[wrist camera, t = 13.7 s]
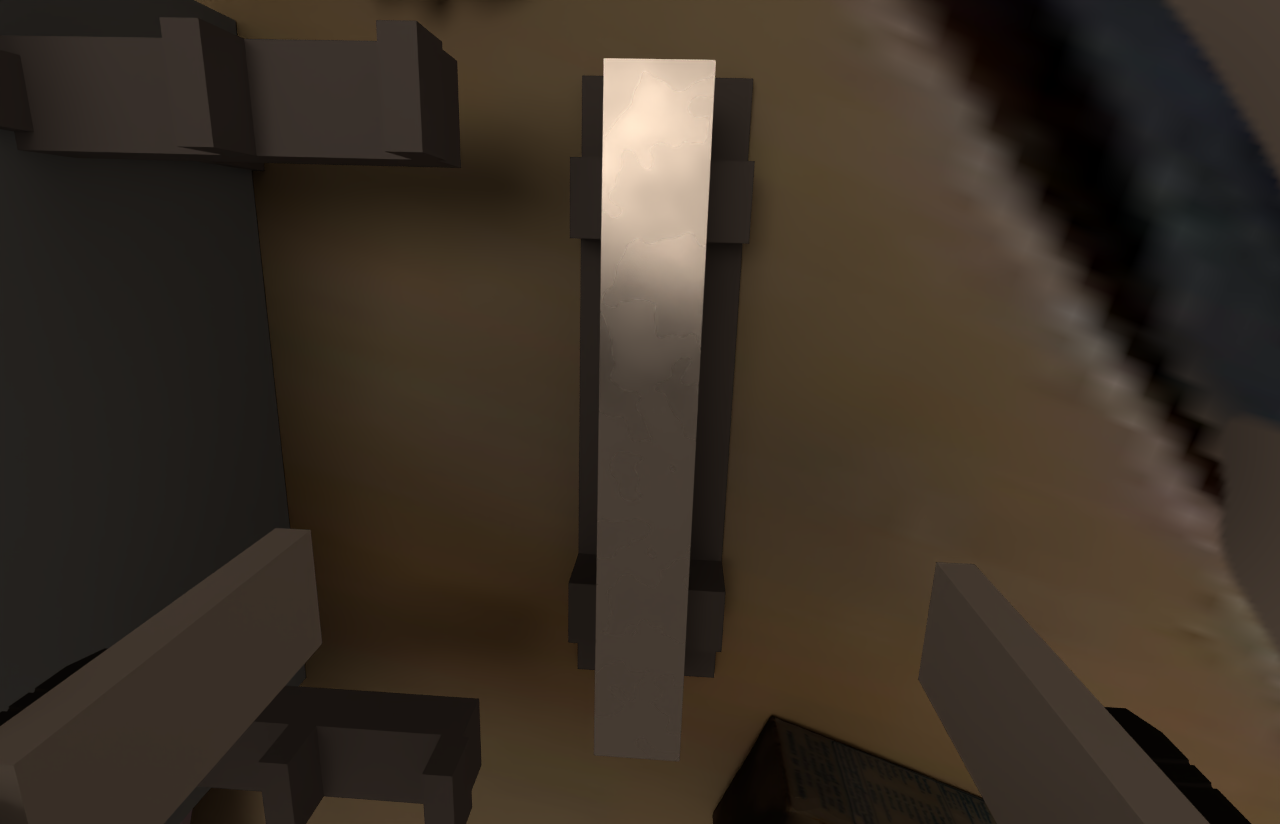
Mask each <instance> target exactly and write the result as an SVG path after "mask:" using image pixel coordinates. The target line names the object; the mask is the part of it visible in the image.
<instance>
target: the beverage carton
mask: <svg viewBox="0 0 1280 824" xmlns="http://www.w3.org/2000/svg"><path fill="white" fill-rule="evenodd" d="M713 824H997V823H996V821H995V819H994V818H993V816H992V814H991V812H990V810H989V808H988V807H987V805H986V803H985V801H984V799H983V798H980V797H977V796H975V795H972V794H970V793H967V792H964V791H962V790H959V789H957V788H954V787H952V786H949V785H947V784H944V783H941V782H939V781H936V780H934V779H932V778H929V777H927V776H924V775H922V774H919V773H916V772H914V771H911V770H909V769H906V768H903V767H900V766H898V765H895V764H892V763H890V762H888V761H885V760H883V759H880V758H877V757H875V756H872V755H869V754H867V753H864V752H862V751H859V750H857V749H854V748H852V747H849V746H846V745H844V744H841V743H839V742H836V741H833V740H831V739H828V738H825V737H823V736H820V735H818V734H815V733H813V732H810V731H808V730H805V729H803V728H801V727H798V726H796V725H792V724H790V723H787V722H784V721H782V720H780V719H778V718H776V717H774V716H773V717H771V718H770V719H769V721H768V722H767V724H766V726H765V727H764V729H763V731H762V732H761V734H760V736H759V738H758V740H757V742H756V744H755V746H754V747H753V749H752V751H751V752H750V754H749V755H748V757H747V759H746V761H745V762H744V764H743V766H742V767H741V769H740V770H739V771H738V773H737V774H736V776H735V778H734V780H733V782H732V784H731V786H730V787H729V788H728V790H727V791H726V793H725V795H724V797H723V799H722V801H721V802H720V804H719V805H718V807H717V808H716V810H715V811H714V813H713Z"/></svg>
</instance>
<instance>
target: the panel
mask: <svg viewBox="0 0 1280 824" xmlns="http://www.w3.org/2000/svg"><path fill="white" fill-rule="evenodd" d="M376 27H377V41H342V40H276V39H243V38H241V37H239V36H237V31H236V22H235V20H233V19H231V18H229V17H227V16H225V15H223V14H221V13H219V12H217V11H215V10H213V9H211V8H209V7H207V6H205V5H203V4H201V3H198V2H196V1H194V0H0V712H2V711H7V710H8V709H9V706H10V705H12V704H13V703H14V702H16V701H17V700H19V699H20V698H22V697H23V696H24V695H26V694H27V693H33V692H34V691H35V688H36V687H37V686H39V685H40V684H42V683H43V682H44V681H46V680H47V679H49V678H50V677H52V676H53V675H54V674H56V673H57V672H59V671H60V670H62V669H63V668H65V667H66V666H68V665H70V664H72V663H74V662H76V661H79V660H81V659H83V658H85V657H87V656H89V655H91V654H94V653H96V652H98V651H100V650H102V649H104V648H110V647H111V646H113V645H114V644H115V643H117V642H118V641H120V640H121V639H122V638H124V637H125V636H126V635H128V634H129V633H131V632H132V631H133V630H135V629H136V628H138V627H139V626H140V625H142V624H143V623H145V622H146V621H147V620H149V619H150V618H151V617H153V616H154V615H156V614H157V613H158V612H160V611H161V610H163V609H164V608H165V607H167V606H168V605H170V604H171V603H172V602H174V601H175V600H177V599H178V598H179V597H181V596H182V595H183V594H185V593H186V592H188V591H189V590H190V589H192V588H193V587H195V586H196V585H197V584H199V583H200V582H202V581H203V580H204V579H206V578H207V577H208V576H210V575H211V574H213V573H214V572H215V571H217V570H218V569H220V568H221V567H222V566H224V565H225V564H227V563H228V562H229V561H231V560H232V559H234V558H235V557H236V556H238V555H239V554H240V553H242V552H243V551H245V550H246V549H247V548H249V547H250V546H252V545H253V544H254V543H256V542H257V541H259V540H260V539H261V538H263V537H264V536H265V535H267V534H268V533H270V532H271V531H272V530H274V529H275V528H284V529H290V524H289V515H288V506H287V497H286V487H285V478H284V469H283V459H282V450H281V441H280V431H279V422H278V413H277V403H276V394H275V385H274V375H273V366H272V357H271V348H270V338H269V329H268V320H267V310H266V301H265V292H264V282H263V273H262V264H261V254H260V245H259V236H258V226H257V217H256V208H255V199H254V189H253V180H252V171H251V170H258V171H264V163H290V164H329V165H369V166H408V167H448V168H461V160H460V131H459V102H458V73H457V61H456V60H455V59H454V58H452V57H451V56H450V55H449V54H447V53H446V52H445V51H444V50H442V42H441V41H440V40H439V39H438V38H437V37H435V36H434V35H433V34H432V33H430V32H429V31H428V30H427V29H426V28H424V27H423V26H422V25H421V24H420V23H418V22H417V21H395V20H376ZM305 678H306V674H305V664H304V665H303V666H302V667H301V668H300V669H299V670H298V672H297V673H296V674H295V675H294V676H293V677H292V678H291V680H290V681H289V682H288V683H287V684H286V685H285V686H284V688H283V689H282V690H281V691H280V692H279V693H278V694H277V695H276V697H275V698H274V699H273V700H272V701H271V702H270V703H269V705H268V706H267V707H266V708H265V709H264V710H263V711H262V713H261V714H260V715H259V716H258V717H257V718H256V719H255V721H254V722H253V723H252V724H251V725H250V726H249V727H248V728H247V730H246V731H245V732H244V733H243V734H242V735H241V736H240V738H239V739H238V740H237V741H236V742H235V743H234V744H233V746H232V747H231V748H230V749H229V750H228V751H227V752H226V753H225V755H224V756H223V757H222V758H221V759H220V760H219V761H218V763H217V764H216V765H215V766H214V767H213V768H212V769H211V771H210V772H209V773H208V774H207V775H206V776H205V777H204V778H203V780H202V781H201V782H200V783H199V784H198V785H197V786H196V788H195V789H194V790H193V791H192V792H191V793H190V794H189V796H188V797H187V798H186V799H185V800H184V801H183V802H182V804H181V805H180V806H179V807H178V808H177V809H176V810H175V811H174V813H173V814H172V815H171V816H170V817H169V818H168V819H167V821H166V822H165V823H164V824H180V823H181V822H182V821H183V819H184V818H185V817H186V816H187V815H188V814H189V812H190V811H191V810H192V809H193V808H194V807H195V806H196V804H197V803H198V802H199V801H200V800H201V799H202V797H203V796H204V795H205V794H206V793H207V792H208V790H209V789H210V788H224V789H237V790H250V791H262V796H263V804H264V812H265V819H266V824H306V823H307V821H308V820H309V818H310V817H311V815H312V814H313V812H314V810H315V809H316V807H317V806H318V804H319V803H320V801H321V800H322V798H323V797H324V796H328V797H341V798H355V799H368V800H381V801H394V802H407V803H420V804H424V817H425V824H466V822H467V820H468V817H469V814H470V812H471V809H472V794H471V791H472V788H473V785H474V783H475V780H476V778H477V775H478V772H479V770H480V767H481V742H480V713H479V699H475V698H460V697H445V696H430V695H416V694H401V693H386V692H371V691H356V690H342V689H327V688H312V687H298V686H299V685H300V684H301V683H302V682H303V681H304V679H305Z"/></svg>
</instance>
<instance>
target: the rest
mask: <svg viewBox="0 0 1280 824" xmlns="http://www.w3.org/2000/svg"><path fill="white" fill-rule="evenodd" d="M603 87H604V76H582V157H570V238H581V315H580V445H579V554H578V557H577V560H576V563H575V566H574V569H573V572H572V575H571V578H570V581H569V615H568V642H570V643H578V669H589V670H595V646H596V576H597V506H598V436H599V366H600V296H601V226H602V157H603ZM752 89H753V79H746V78H715V84H714V103H713V123H712V142H711V161H710V181H709V200H708V219H707V238H706V258H705V277H704V296H703V316H702V335H701V354H700V374H699V393H698V412H697V431H696V451H695V470H694V489H693V509H692V528H691V547H690V566H689V586H688V605H687V624H686V644H685V663H684V676H697V677H712V678H714V670H715V655H716V652H721V650H722V635H723V620H724V605H725V585H724V577H723V568H722V548H723V533H724V517H725V502H726V487H727V471H728V456H729V441H730V426H731V410H732V395H733V380H734V364H735V349H736V334H737V318H738V303H739V288H740V273H741V257H742V243H749V236H750V222H751V207H752V192H753V177H754V163H755V161H748V150H749V135H750V120H751V104H752Z"/></svg>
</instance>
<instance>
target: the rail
mask: <svg viewBox="0 0 1280 824" xmlns="http://www.w3.org/2000/svg"><path fill="white" fill-rule="evenodd" d="M715 65H716V60H681V59H617V58H604V87H603V157H602V226H601V296H600V366H599V436H598V506H597V576H596V646H595V716H594V755H597V756H611V757H626V758H640V759H654V760H668V761H679V759H680V740H681V721H682V701H683V682H684V663H685V644H686V624H687V605H688V586H689V566H690V547H691V528H692V509H693V489H694V470H695V451H696V431H697V412H698V393H699V374H700V354H701V335H702V316H703V296H704V277H705V258H706V238H707V219H708V200H709V181H710V161H711V142H712V123H713V103H714V84H715Z"/></svg>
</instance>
